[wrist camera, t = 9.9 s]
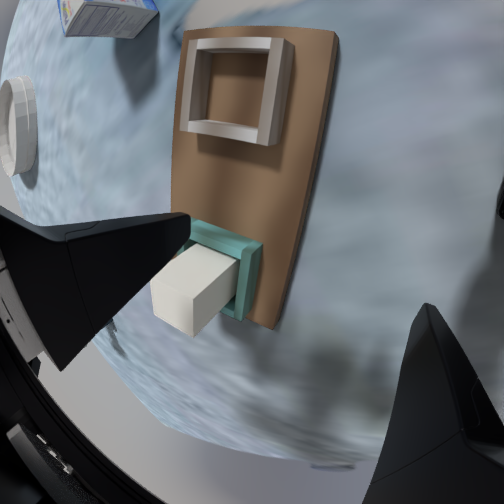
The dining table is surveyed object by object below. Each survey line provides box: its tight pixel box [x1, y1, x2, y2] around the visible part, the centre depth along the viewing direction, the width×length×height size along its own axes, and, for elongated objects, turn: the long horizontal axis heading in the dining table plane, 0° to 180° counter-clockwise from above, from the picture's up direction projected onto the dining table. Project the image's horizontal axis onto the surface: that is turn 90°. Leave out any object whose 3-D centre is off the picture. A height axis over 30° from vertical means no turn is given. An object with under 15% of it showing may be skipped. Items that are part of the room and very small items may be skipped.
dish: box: [0, 75, 37, 177], centre depth 37 cm, size 22×22×5 cm
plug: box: [150, 242, 241, 338], centre depth 22 cm, size 4×4×7 cm
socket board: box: [171, 26, 339, 330], centre depth 21 cm, size 12×25×4 cm, turn 172°
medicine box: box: [57, 0, 158, 39], centre depth 15 cm, size 8×4×9 cm, turn 28°
